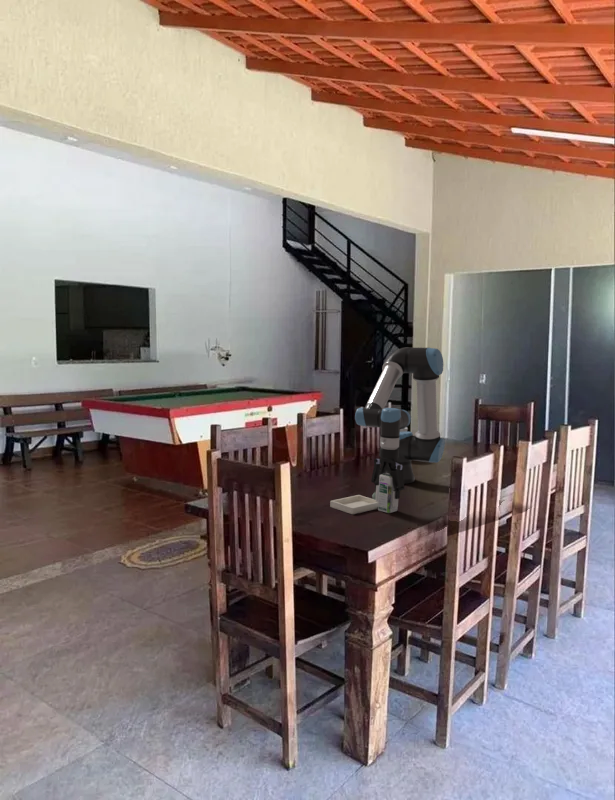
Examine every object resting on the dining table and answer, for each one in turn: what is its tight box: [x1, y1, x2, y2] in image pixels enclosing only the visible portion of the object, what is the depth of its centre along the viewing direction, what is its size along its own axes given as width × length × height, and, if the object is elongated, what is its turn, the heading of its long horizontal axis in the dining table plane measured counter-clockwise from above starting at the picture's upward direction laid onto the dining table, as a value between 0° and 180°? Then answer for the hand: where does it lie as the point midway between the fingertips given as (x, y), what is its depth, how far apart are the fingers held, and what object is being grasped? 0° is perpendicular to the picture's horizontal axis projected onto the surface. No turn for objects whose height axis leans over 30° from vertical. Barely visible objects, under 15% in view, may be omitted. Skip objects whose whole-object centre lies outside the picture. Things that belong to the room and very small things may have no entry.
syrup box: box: [377, 473, 399, 514], centre depth 247 cm, size 6×6×14 cm
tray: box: [329, 494, 379, 515], centre depth 252 cm, size 16×13×2 cm
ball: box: [371, 491, 376, 500], centre depth 262 cm, size 4×4×4 cm
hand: (386, 503), depth 248 cm, fingers open, 8 cm apart
